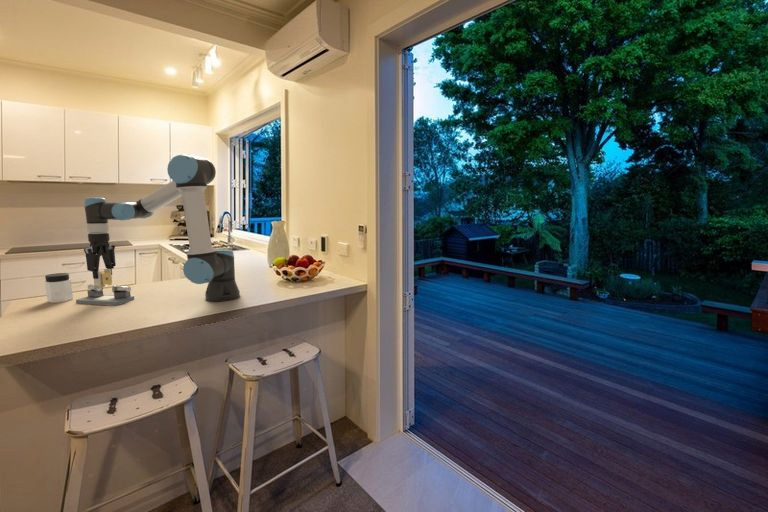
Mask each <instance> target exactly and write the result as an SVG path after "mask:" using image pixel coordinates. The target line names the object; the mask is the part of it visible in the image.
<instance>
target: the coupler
mask: <svg viewBox="0 0 768 512" xmlns="http://www.w3.org/2000/svg"><path fill="white" fill-rule="evenodd" d="M100 272H101V282H102V286H98V287H103V288H105V287H109V286H112V283H113V281H112V282H111V276H112V275H111V272H106V271H103V270H100ZM93 283H94V284H93V285H95V280H94V279H93Z"/></svg>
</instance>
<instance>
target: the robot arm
mask: <svg viewBox="0 0 768 512" xmlns="http://www.w3.org/2000/svg"><path fill="white" fill-rule="evenodd" d="M166 169H167V175H168V177H169V178H170V179H171V181H170V182H168V183H166V184H165V185H163V186H161V187H159V188H158V189H155V190H154V191H153V192H152V191H151V192H150V193H149V194H147V195H145V196H144V197H142V198H140V199H138V200H136V201H134V202H133V201H131V202H129V201H127V202H107V200H106V198H104V197H85V199H84V206H83V207H84V212H85V219H86V230H87V232H88V234H87V239H88V243H90V244H89V246H88V247H87V248H84V249H83V252H84V253H85V260H86V268H87V271H89V272H92V278H93V281H94V280H95V286H102V282H101V270H99V269H100V262H101V261H100V260H101V257H102V260H103V263H104V264H103V265H104V266H105V268H103V270H104V271H106V272H111V282H112V283H113V280H112V279H113V278H112V277H113V269H114V268H115V267H116V254H115V253H116V252H115V249H116V245H115V244H114V245H113V244H110V243H109V241H110V233H109V222H108V221H109V220H112V221H114V220H115V221H129V220H133V219H147V218H151V217H152V216H153V215H154V212H156V211H157V210H160V209H161V208H163V207H165V206H166V205H168V204H170V203H171V202H174V201H176V200H177V199H179V198H181V200H182V206H183V214H184V219H185V226H186V231H187V233H186V234H187V239H188V245H189V250H188V251H187V253H186V258H187V260H186V261H185V263H184V264H183V268H182V271H183V274H184V276H185V277H186V279H187V280H188V281H190V282H191V283H193V284H196V285H203V284H207V285H206V286H207V287H206V289H205V294H204V297H205V300H206V301H209V302H227V301H231V300H235V299H238V298H240V295H241V294H240V289H239V286H238V284H237V281H236V275H235V273H236V272H235V271H236V270H235V255H234V251H233V250H231V249H215V248H214V247H213V246H212V245H213V244H212V239H211V232H210V227H209V226H210V225H209V218H208V212H207V205H206V198H205V191H206V189H207V188H208V185H209V184H210V183H212V182H213V181H214V179H215V178H216V172H217V171H216V170H217V169H216V168H215V166H214V164H213V162H212V161H210V160H209V159H208V158H205V157H201V156H195V155H191V154H177V155H174V156H173V157H171V159H170V161H169V162H168V164H167V168H166Z"/></svg>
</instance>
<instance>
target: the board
mask: <svg viewBox="0 0 768 512" xmlns="http://www.w3.org/2000/svg"><path fill="white" fill-rule="evenodd" d="M134 300H135V296H134V295H131V297H129V298H126V299H114V294H103V296H100V297H96V298H94V297H88V296H85V297H81V298H78V299H77V298H76V299H75V302H76V303H75V304H84V305H85V304H86V305H87V304H88V305H103V306H118V305H121V304H124V303H127V302H130V301H134Z"/></svg>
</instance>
